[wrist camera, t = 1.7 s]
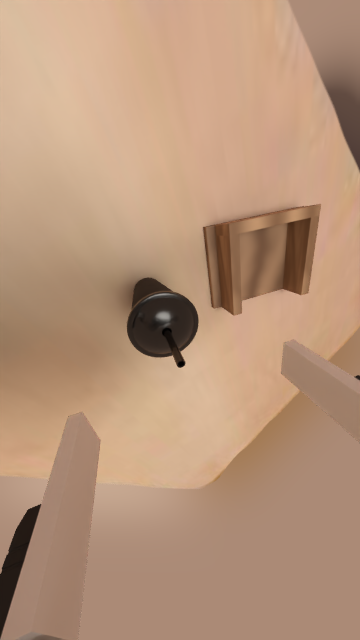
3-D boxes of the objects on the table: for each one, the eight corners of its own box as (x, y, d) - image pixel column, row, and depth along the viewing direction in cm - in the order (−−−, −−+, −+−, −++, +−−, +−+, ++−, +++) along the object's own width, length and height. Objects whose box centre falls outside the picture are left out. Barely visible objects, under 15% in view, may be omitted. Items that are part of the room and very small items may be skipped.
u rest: (212, 306, 36) (225, 318, 31) (203, 227, 30) (218, 226, 25) (291, 283, 39) (315, 290, 34) (298, 206, 33) (329, 202, 28)
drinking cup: (174, 306, 34) (229, 383, 17) (133, 318, 33) (145, 414, 15) (165, 263, 31) (223, 304, 13) (118, 275, 29) (113, 337, 12)
